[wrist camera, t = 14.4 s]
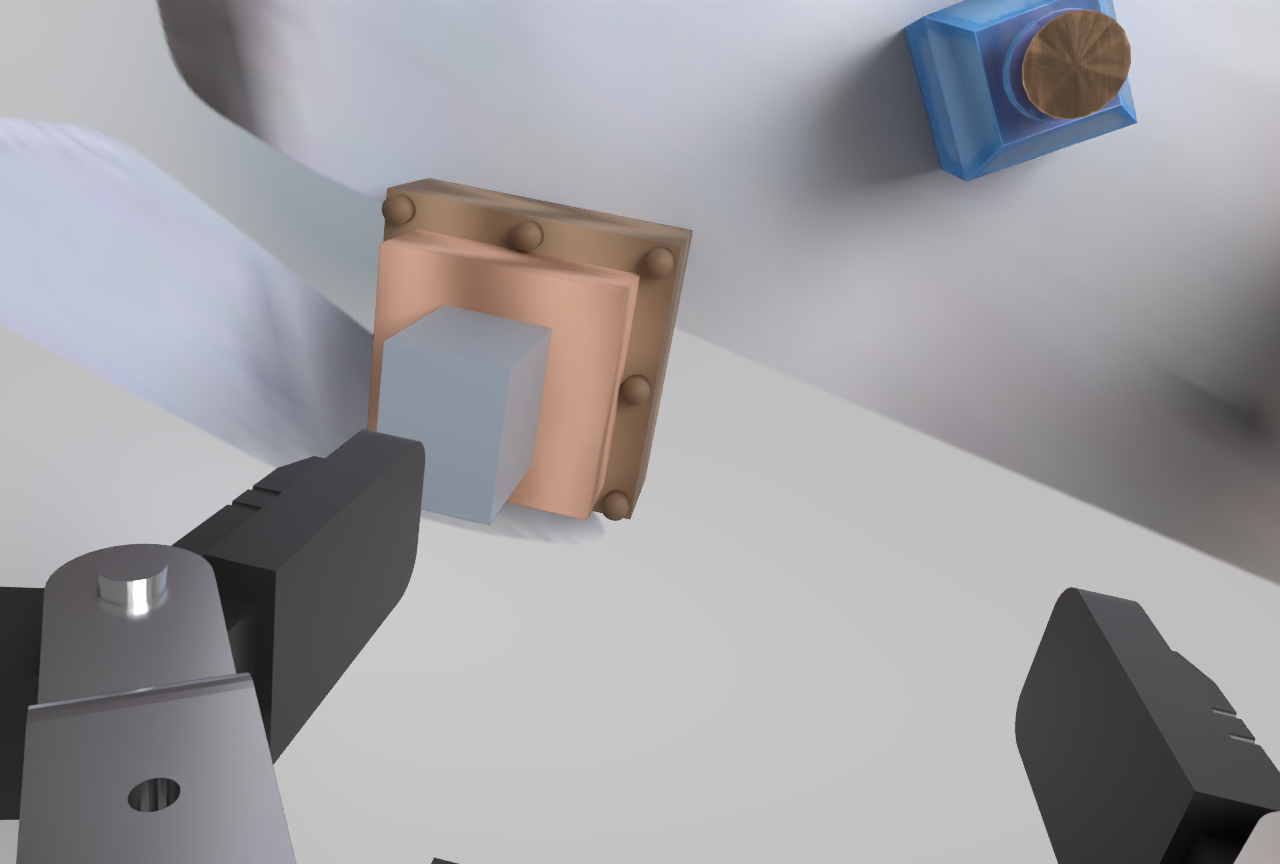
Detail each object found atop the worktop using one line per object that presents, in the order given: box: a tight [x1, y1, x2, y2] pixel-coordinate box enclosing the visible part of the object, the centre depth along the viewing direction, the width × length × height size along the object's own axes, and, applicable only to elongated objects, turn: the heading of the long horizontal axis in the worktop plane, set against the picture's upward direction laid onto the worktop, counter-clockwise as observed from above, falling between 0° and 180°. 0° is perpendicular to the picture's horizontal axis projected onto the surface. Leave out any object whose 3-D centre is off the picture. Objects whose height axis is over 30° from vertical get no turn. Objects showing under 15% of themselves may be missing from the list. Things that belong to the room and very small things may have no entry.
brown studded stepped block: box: [367, 178, 692, 521], centre depth 43 cm, size 13×13×9 cm
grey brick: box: [377, 305, 552, 525], centre depth 36 cm, size 4×6×6 cm
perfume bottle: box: [904, 0, 1137, 181], centre depth 34 cm, size 6×6×12 cm
